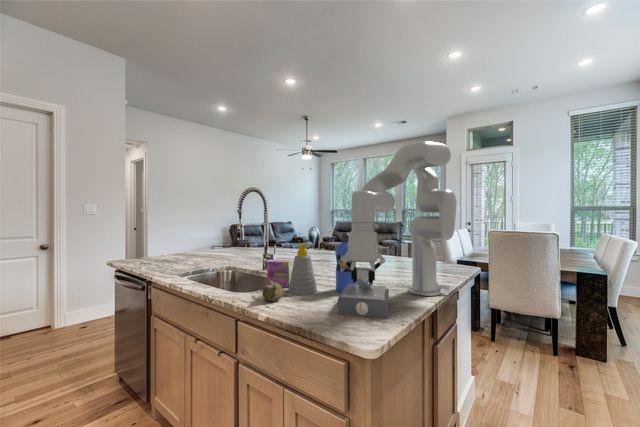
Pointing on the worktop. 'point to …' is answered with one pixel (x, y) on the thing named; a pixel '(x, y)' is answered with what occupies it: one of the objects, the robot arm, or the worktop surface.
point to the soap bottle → (302, 274)
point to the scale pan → (364, 292)
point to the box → (279, 272)
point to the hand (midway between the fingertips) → (363, 281)
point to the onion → (272, 291)
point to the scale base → (364, 306)
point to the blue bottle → (342, 265)
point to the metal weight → (366, 286)
